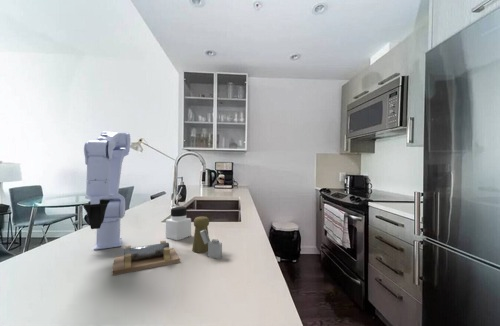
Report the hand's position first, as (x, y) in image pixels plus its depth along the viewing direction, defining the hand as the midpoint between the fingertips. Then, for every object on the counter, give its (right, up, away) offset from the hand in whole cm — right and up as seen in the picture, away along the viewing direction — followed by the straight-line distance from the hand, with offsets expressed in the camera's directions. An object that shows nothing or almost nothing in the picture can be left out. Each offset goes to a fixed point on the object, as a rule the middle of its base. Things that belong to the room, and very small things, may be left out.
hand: (97, 225), depth 67 cm
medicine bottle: (+17, -11, +23) cm, 31 cm away
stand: (+15, -10, 0) cm, 18 cm away
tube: (+15, -9, 0) cm, 18 cm away
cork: (+29, -11, +9) cm, 32 cm away
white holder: (+33, -11, +4) cm, 35 cm away
